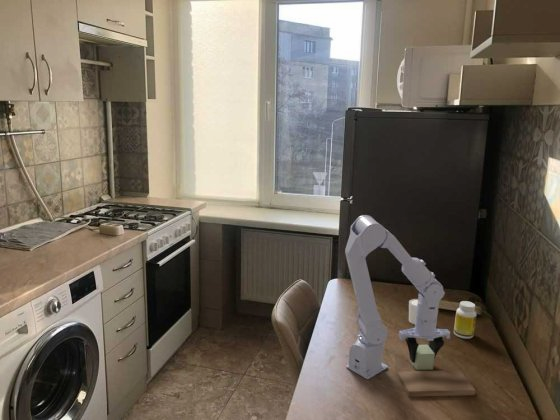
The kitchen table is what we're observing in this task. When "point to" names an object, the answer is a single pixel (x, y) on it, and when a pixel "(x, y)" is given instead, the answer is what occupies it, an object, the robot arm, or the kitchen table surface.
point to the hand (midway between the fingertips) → (421, 360)
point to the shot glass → (412, 310)
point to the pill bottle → (465, 320)
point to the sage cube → (424, 358)
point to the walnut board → (435, 383)
